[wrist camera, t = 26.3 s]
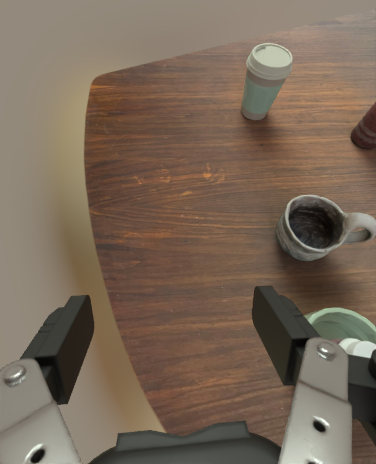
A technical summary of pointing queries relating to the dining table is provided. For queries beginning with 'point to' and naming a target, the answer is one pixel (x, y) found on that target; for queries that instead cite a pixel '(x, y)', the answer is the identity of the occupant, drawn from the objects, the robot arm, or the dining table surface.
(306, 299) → the dining table surface
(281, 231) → the mug
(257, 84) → the coffee cup
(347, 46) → the dining table surface
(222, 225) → the dining table surface
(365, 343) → the pill bottle
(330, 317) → the bowl
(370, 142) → the can
